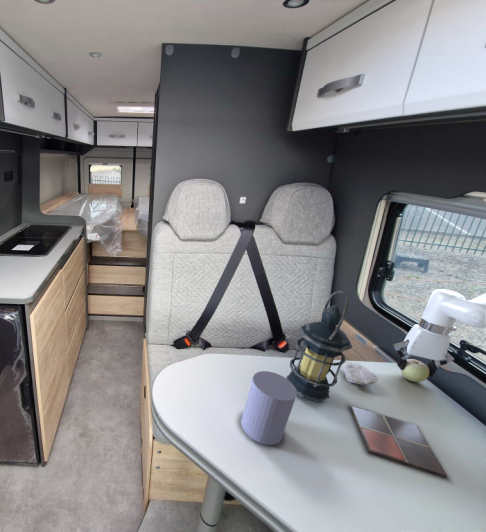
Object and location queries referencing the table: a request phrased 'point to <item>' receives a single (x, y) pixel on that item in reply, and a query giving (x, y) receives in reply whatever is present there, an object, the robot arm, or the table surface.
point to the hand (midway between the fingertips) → (414, 370)
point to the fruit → (415, 371)
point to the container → (268, 407)
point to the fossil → (358, 374)
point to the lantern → (320, 353)
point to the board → (396, 441)
